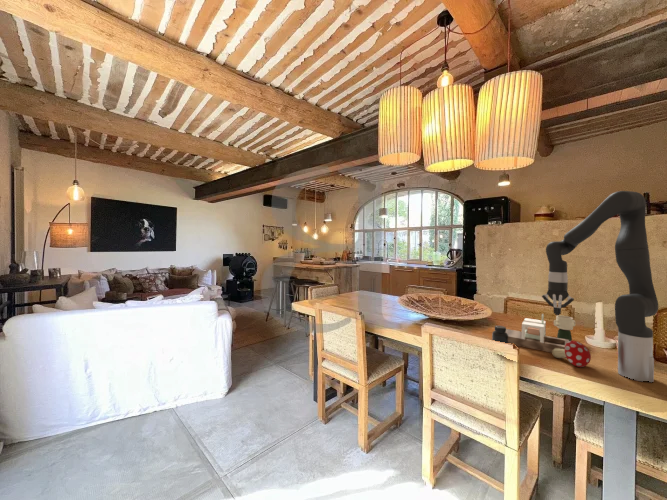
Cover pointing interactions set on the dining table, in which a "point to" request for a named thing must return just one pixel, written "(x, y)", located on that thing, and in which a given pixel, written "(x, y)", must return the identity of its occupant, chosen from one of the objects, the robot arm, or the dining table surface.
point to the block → (533, 331)
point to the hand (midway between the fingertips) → (557, 314)
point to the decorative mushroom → (574, 353)
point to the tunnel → (535, 324)
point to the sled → (532, 334)
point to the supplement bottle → (500, 334)
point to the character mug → (564, 326)
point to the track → (536, 341)
